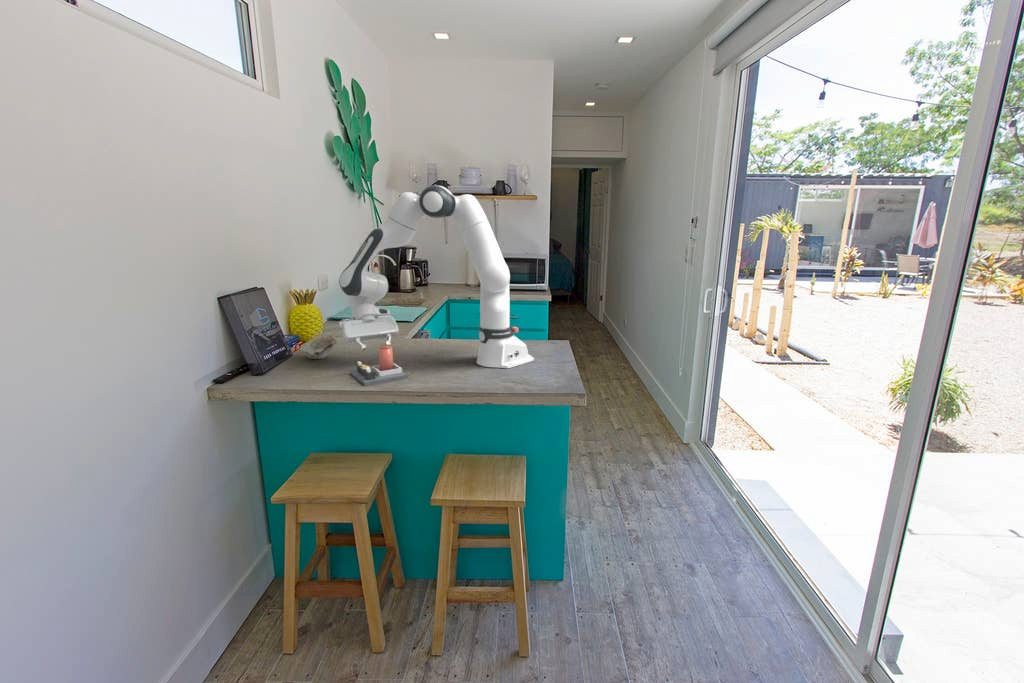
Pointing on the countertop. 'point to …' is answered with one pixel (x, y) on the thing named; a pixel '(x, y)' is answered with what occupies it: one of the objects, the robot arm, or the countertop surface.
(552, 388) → the countertop surface
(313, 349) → the stone
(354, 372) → the panel
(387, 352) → the cap
